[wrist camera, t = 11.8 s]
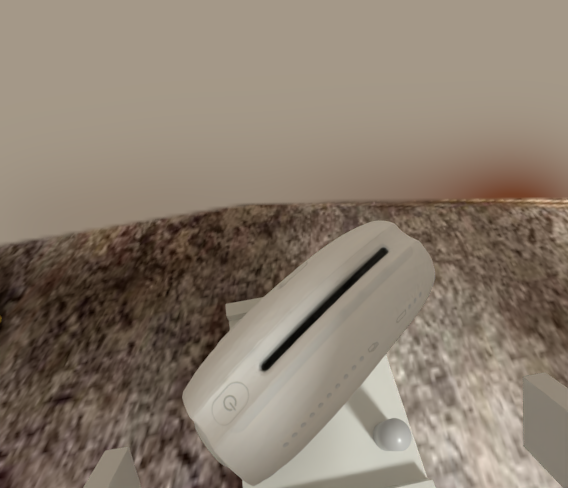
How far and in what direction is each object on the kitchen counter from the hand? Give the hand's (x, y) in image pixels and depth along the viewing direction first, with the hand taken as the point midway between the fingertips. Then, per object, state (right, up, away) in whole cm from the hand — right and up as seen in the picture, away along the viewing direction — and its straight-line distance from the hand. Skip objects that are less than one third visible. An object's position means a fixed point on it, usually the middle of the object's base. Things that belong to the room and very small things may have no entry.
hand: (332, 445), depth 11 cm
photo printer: (0, -2, +9) cm, 9 cm away
